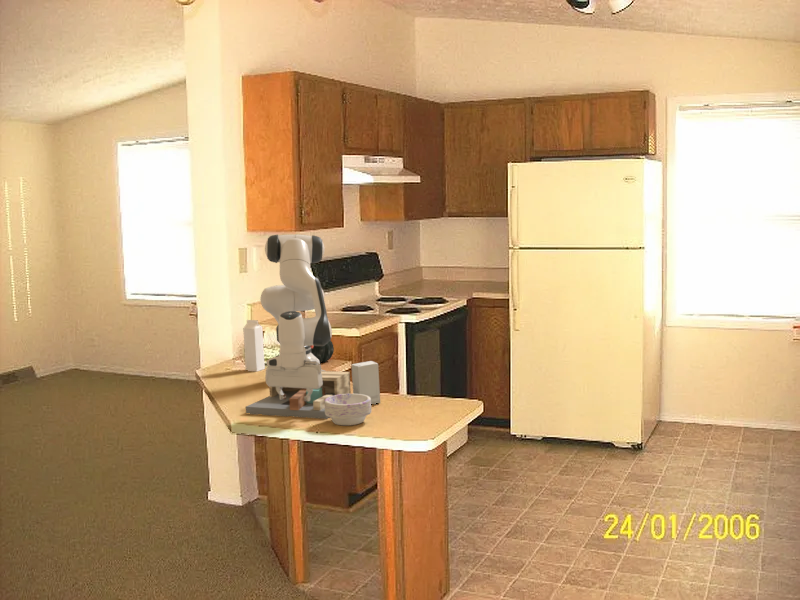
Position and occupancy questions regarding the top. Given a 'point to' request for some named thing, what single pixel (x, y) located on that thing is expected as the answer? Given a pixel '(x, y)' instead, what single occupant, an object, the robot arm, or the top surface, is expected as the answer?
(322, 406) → the stick
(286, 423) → the top surface
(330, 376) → the shelf
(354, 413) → the paper bowls
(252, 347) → the milk
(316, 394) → the block
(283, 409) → the board
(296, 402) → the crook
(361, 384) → the skincare box
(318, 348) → the squash
